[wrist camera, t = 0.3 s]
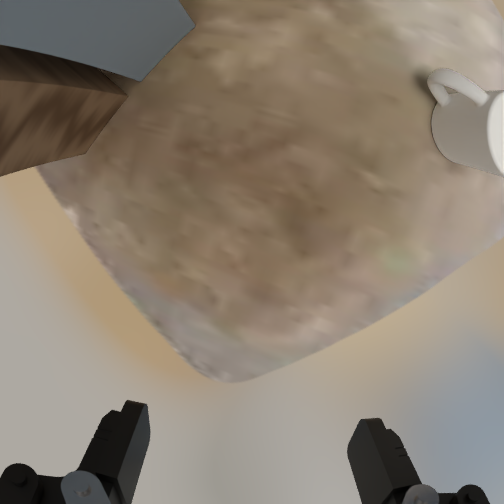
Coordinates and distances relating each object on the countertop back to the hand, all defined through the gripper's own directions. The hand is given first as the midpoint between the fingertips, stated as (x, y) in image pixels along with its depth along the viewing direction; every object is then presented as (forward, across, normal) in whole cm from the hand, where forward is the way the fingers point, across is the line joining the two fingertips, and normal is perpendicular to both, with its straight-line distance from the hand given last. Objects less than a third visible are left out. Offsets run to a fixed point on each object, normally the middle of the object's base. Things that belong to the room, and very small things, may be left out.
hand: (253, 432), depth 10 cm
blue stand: (+22, +17, -26) cm, 38 cm away
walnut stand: (+23, +24, -18) cm, 37 cm away
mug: (+22, -20, -19) cm, 35 cm away
